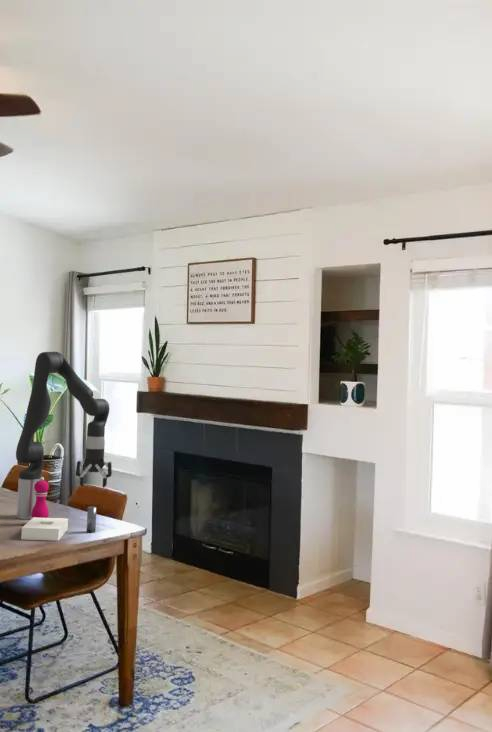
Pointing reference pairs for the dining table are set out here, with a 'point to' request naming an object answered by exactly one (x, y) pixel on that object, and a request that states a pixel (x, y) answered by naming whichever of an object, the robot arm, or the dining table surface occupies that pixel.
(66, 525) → the hole block
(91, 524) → the peg
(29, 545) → the dining table surface
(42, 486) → the pepper mill
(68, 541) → the dining table surface
